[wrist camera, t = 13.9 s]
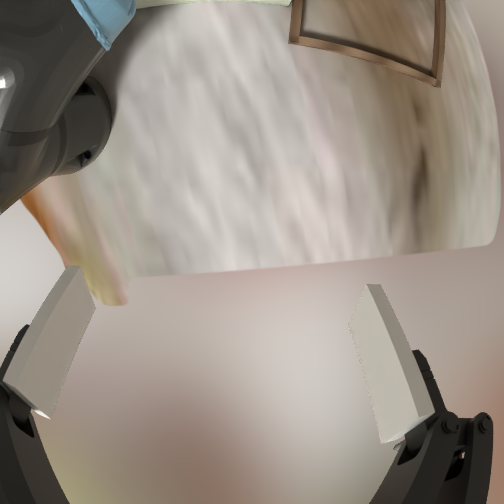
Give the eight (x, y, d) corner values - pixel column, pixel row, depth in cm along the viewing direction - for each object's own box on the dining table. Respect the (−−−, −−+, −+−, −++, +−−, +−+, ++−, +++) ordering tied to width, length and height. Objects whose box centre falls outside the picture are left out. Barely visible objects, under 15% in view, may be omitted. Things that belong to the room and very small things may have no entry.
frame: (288, 43, 26) (290, 41, 24) (298, -68, 14) (300, -72, 13) (434, 86, 27) (440, 87, 26) (438, -17, 16) (444, -18, 14)
